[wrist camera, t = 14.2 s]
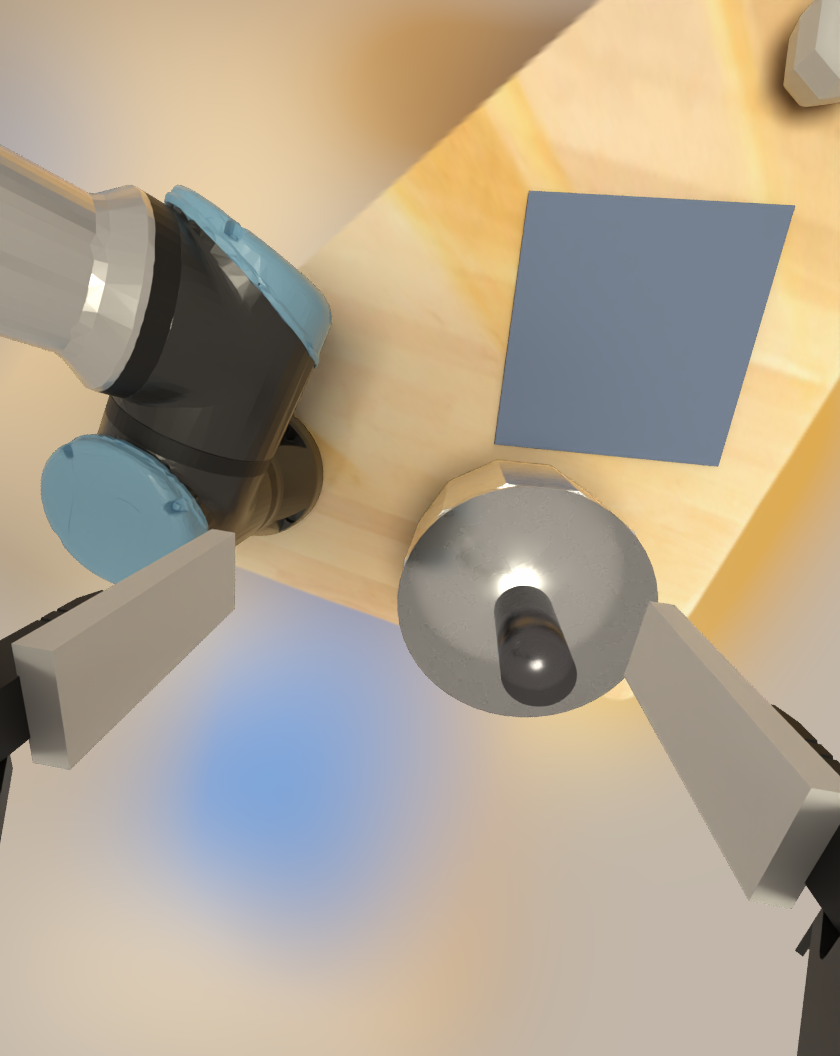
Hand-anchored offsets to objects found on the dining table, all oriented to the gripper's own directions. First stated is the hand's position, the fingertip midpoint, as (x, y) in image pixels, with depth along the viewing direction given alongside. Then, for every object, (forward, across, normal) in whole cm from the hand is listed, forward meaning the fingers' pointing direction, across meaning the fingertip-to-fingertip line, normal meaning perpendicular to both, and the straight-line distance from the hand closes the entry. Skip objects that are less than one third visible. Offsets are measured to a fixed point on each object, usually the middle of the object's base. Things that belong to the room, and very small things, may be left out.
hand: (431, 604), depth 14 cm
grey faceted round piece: (+36, +24, +35) cm, 56 cm away
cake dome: (+36, +8, -11) cm, 39 cm away
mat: (+36, +15, +13) cm, 42 cm away
